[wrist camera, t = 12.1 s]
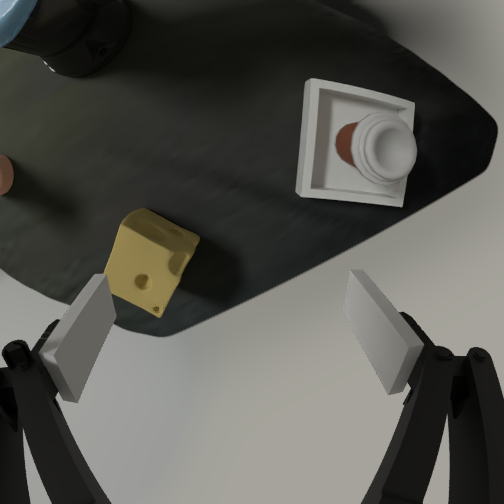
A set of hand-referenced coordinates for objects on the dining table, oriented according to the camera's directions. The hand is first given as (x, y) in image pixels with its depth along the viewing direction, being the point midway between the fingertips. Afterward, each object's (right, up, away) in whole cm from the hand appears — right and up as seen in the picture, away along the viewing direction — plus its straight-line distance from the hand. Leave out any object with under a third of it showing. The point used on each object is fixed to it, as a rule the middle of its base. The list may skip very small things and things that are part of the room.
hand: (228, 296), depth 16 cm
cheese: (-14, +3, +30) cm, 33 cm away
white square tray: (+16, +19, +26) cm, 36 cm away
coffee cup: (+16, +18, +26) cm, 35 cm away
